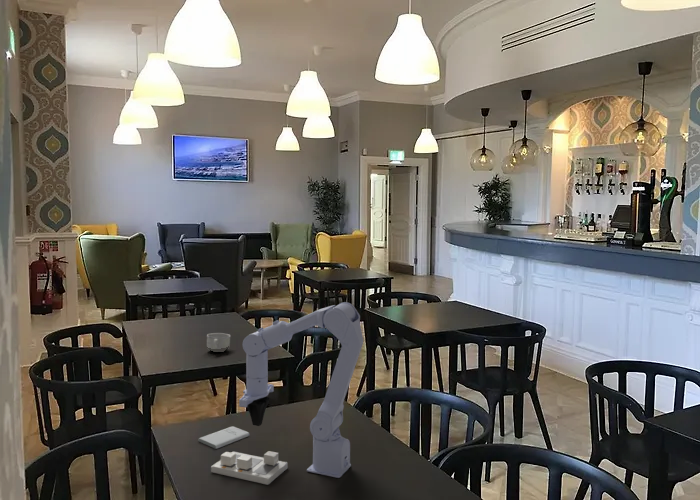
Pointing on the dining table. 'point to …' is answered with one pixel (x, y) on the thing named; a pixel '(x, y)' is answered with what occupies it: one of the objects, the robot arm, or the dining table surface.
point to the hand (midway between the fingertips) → (257, 424)
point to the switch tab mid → (244, 462)
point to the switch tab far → (228, 458)
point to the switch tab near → (271, 458)
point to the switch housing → (252, 470)
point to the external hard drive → (223, 437)
